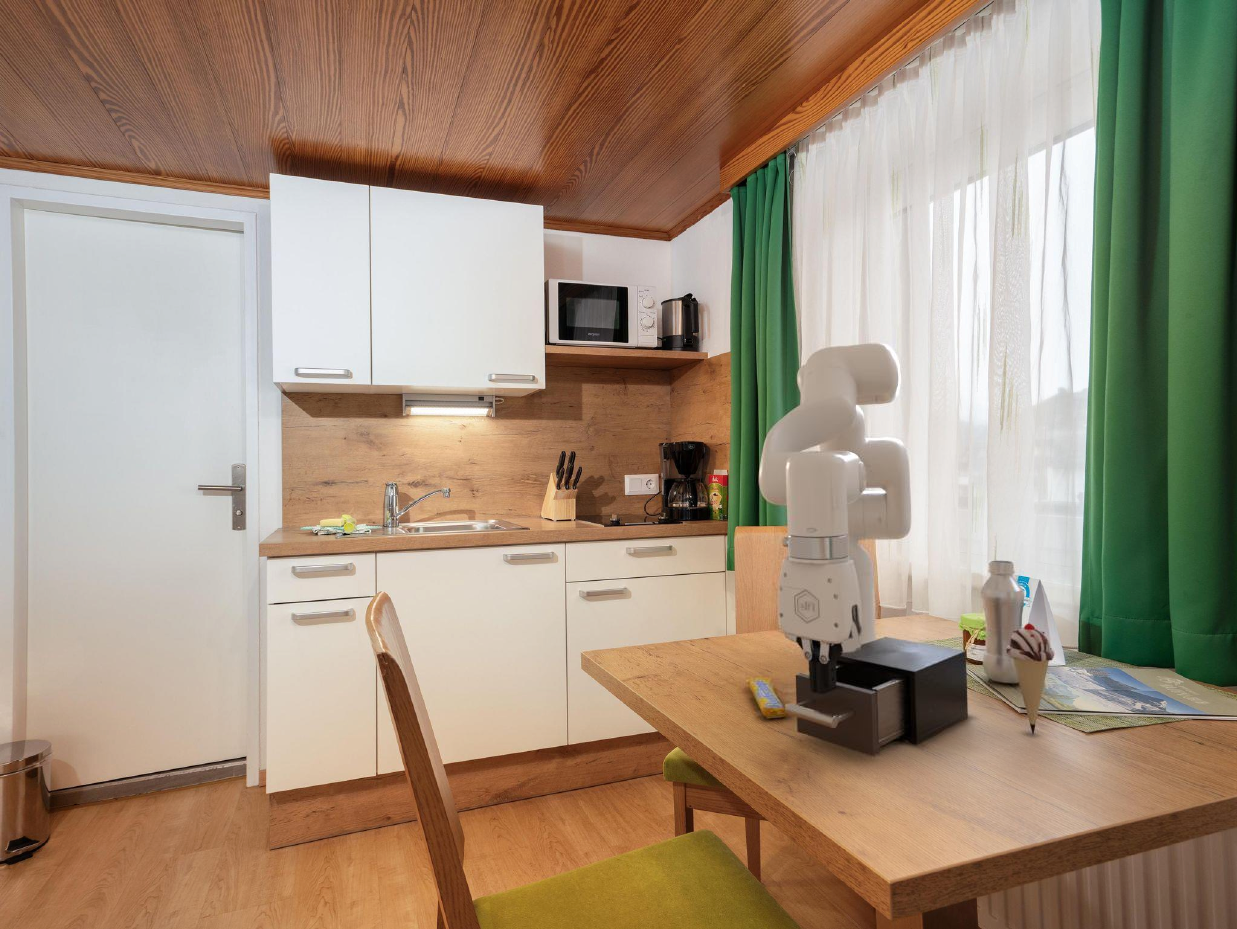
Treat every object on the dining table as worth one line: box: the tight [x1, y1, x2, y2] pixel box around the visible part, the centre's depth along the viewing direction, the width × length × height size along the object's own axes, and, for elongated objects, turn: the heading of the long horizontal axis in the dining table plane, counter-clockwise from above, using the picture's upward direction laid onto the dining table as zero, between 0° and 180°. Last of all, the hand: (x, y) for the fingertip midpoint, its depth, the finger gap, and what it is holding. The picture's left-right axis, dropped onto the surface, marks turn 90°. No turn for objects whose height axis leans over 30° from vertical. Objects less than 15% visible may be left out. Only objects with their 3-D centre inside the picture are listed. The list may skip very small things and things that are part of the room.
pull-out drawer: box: [784, 662, 911, 758], centre depth 94 cm, size 19×11×8 cm, turn 129°
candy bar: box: [745, 676, 789, 720], centre depth 111 cm, size 17×4×2 cm, turn 178°
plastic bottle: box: [980, 560, 1025, 684], centre depth 117 cm, size 6×7×20 cm
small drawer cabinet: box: [836, 636, 969, 745], centre depth 102 cm, size 15×13×10 cm
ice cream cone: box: [1006, 623, 1055, 735], centre depth 94 cm, size 6×6×15 cm
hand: (823, 690), depth 90 cm, fingers closed
